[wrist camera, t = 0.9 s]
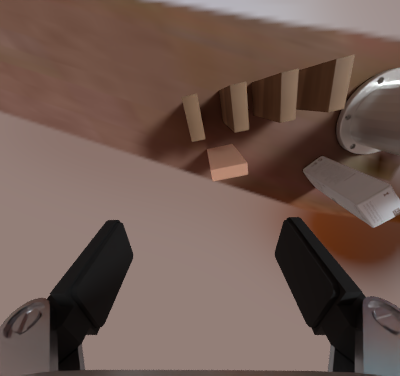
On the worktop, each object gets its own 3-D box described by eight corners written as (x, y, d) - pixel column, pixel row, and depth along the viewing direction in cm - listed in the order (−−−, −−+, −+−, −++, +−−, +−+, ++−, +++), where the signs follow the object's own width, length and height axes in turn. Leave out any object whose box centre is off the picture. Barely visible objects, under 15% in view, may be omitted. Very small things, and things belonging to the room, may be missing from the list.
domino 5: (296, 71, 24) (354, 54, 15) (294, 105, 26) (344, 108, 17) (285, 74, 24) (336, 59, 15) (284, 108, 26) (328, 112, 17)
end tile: (206, 149, 29) (210, 170, 20) (232, 143, 29) (247, 162, 20) (208, 157, 30) (212, 181, 21) (233, 152, 29) (248, 174, 21)
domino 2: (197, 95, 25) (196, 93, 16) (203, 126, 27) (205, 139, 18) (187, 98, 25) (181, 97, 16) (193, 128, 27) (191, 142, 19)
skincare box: (300, 170, 31) (353, 206, 20) (322, 153, 30) (392, 183, 19) (316, 189, 33) (371, 230, 23) (337, 174, 32) (407, 212, 21)
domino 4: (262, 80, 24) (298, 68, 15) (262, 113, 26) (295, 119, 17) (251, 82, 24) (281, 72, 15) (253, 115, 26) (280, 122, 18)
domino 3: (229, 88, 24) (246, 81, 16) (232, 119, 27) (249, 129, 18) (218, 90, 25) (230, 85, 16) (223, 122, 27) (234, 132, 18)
